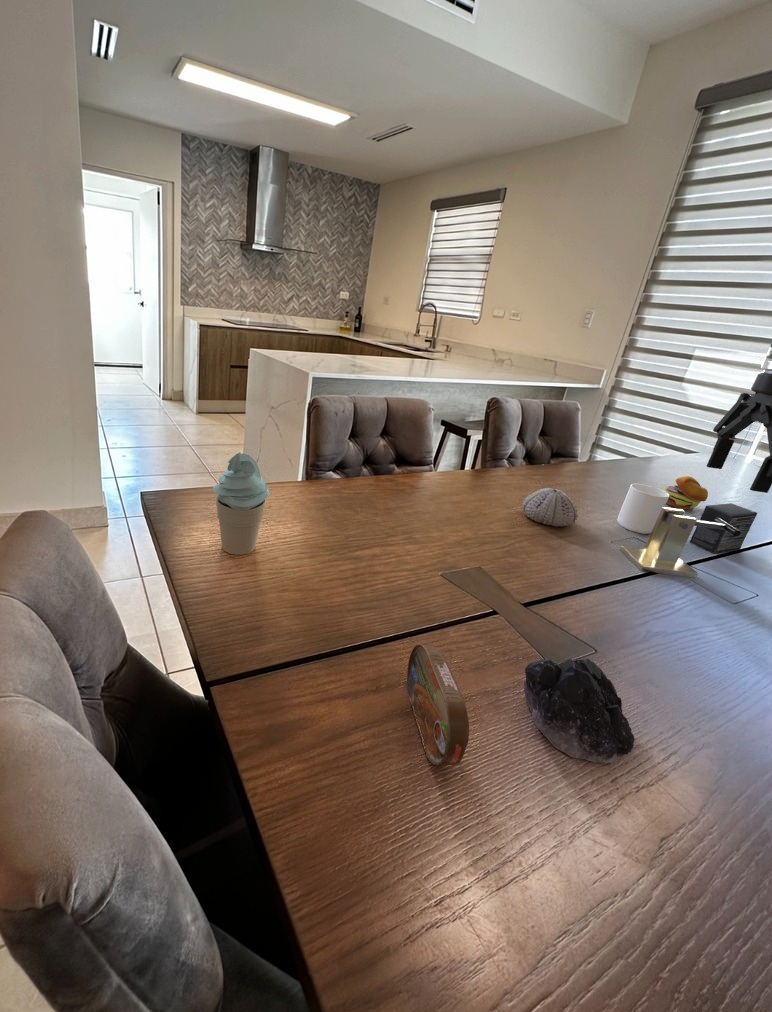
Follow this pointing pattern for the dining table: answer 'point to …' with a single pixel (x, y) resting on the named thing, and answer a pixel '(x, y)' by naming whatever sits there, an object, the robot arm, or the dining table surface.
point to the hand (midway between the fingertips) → (734, 478)
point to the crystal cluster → (578, 709)
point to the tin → (437, 705)
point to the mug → (642, 508)
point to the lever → (710, 524)
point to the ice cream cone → (240, 504)
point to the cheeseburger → (686, 493)
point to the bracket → (665, 546)
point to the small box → (721, 538)
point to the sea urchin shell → (550, 507)
